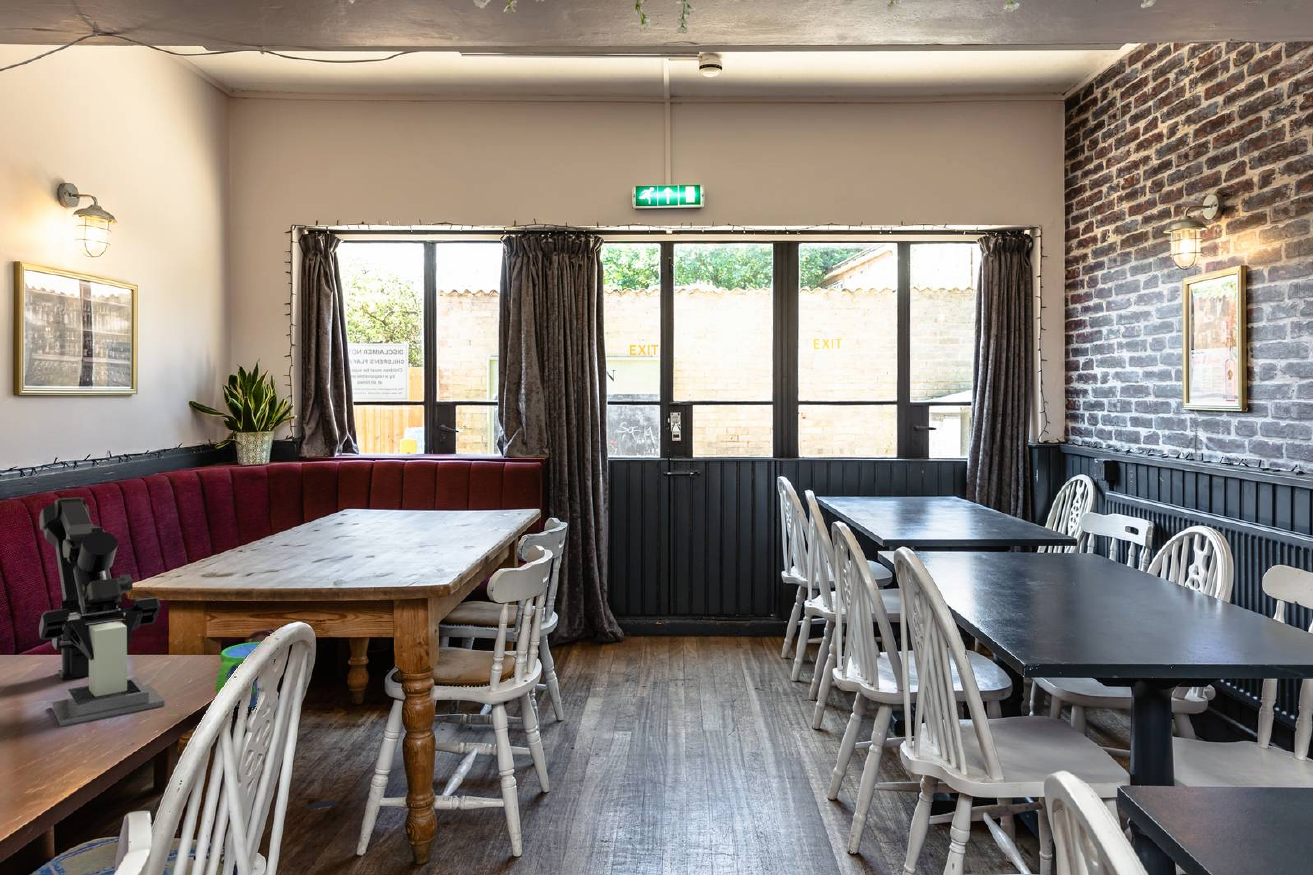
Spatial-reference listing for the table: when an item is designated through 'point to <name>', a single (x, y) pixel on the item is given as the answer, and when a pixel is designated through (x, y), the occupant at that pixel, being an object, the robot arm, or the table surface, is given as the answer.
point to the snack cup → (236, 666)
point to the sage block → (108, 658)
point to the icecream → (259, 635)
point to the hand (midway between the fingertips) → (109, 656)
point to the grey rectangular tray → (105, 703)
